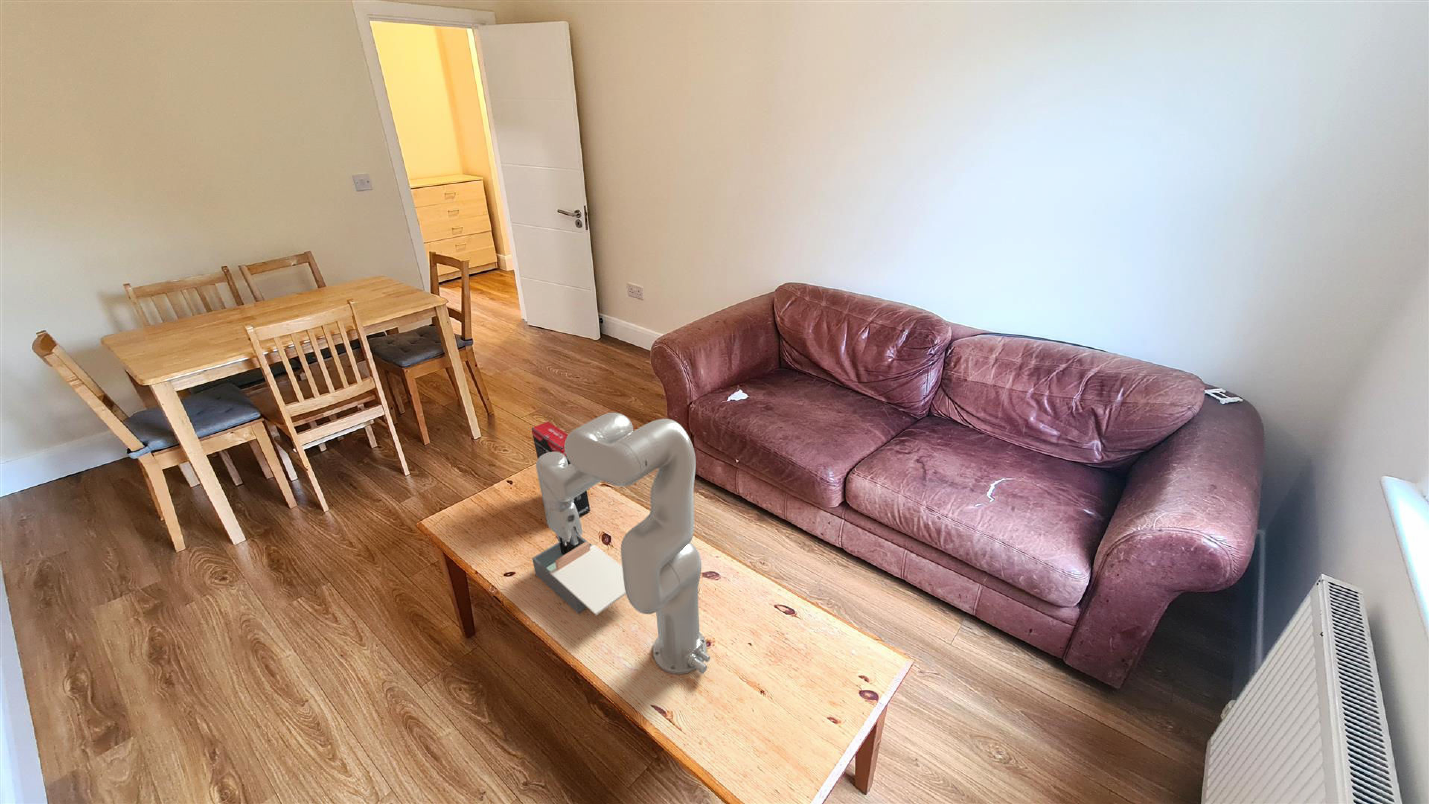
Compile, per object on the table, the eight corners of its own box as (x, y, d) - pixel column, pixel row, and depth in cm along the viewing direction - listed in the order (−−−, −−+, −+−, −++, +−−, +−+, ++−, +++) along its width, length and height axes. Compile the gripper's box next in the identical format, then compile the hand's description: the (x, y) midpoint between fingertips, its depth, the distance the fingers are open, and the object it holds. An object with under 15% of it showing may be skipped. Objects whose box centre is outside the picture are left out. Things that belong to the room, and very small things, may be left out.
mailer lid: (641, 582, 146) (640, 573, 144) (596, 615, 137) (594, 606, 136) (594, 546, 158) (592, 537, 157) (550, 573, 149) (548, 564, 148)
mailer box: (621, 583, 154) (619, 566, 151) (578, 613, 145) (574, 596, 143) (578, 548, 166) (575, 532, 164) (535, 574, 158) (532, 558, 155)
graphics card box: (592, 512, 181) (581, 438, 168) (573, 523, 176) (560, 448, 163) (561, 489, 191) (549, 419, 178) (543, 499, 187) (529, 427, 174)
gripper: (587, 503, 143) (596, 558, 152) (554, 479, 152) (564, 533, 161) (562, 518, 139) (572, 574, 147) (529, 492, 148) (540, 546, 156)
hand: (568, 552), depth 154 cm, fingers closed
